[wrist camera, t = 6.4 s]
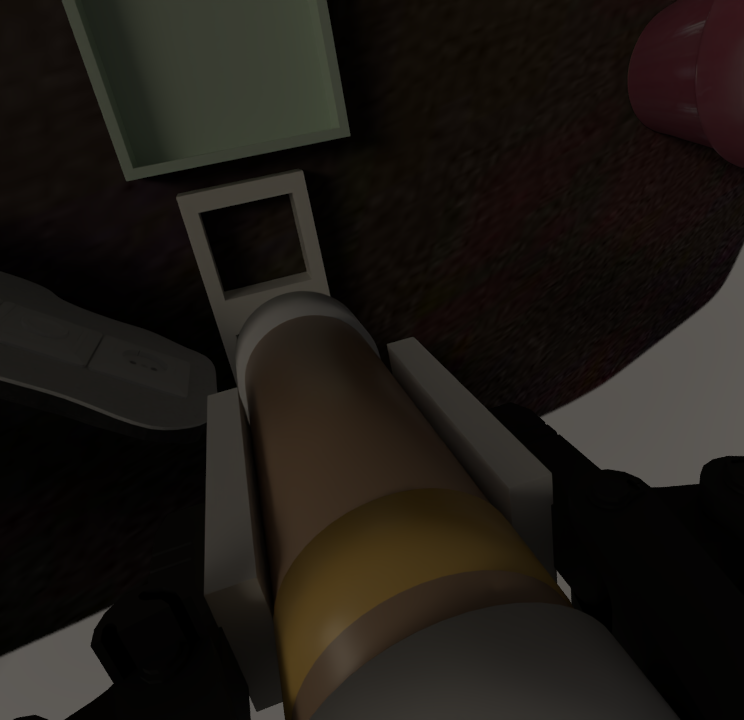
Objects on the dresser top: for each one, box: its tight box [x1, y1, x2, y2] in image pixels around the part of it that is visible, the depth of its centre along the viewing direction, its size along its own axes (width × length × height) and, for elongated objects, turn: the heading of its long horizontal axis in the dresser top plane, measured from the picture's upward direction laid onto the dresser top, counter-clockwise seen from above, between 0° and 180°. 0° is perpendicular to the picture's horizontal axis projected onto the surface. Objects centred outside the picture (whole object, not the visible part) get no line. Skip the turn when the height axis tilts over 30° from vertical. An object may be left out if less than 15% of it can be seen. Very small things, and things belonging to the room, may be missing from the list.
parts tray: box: [62, 0, 351, 181], centre depth 31 cm, size 14×14×3 cm
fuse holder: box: [176, 169, 330, 424], centre depth 39 cm, size 8×17×2 cm, turn 10°
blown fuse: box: [235, 291, 681, 720], centre depth 11 cm, size 4×4×15 cm
